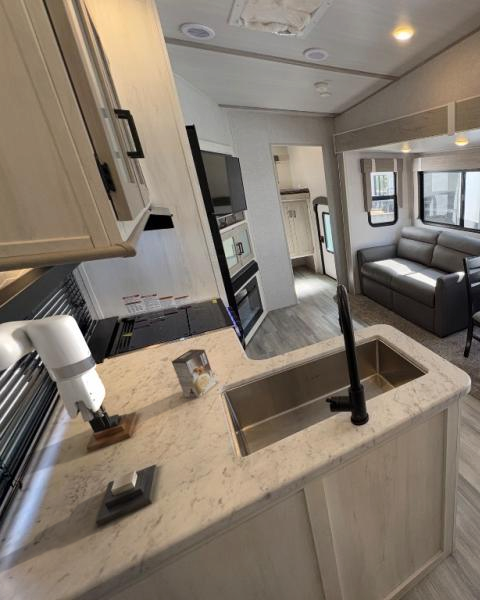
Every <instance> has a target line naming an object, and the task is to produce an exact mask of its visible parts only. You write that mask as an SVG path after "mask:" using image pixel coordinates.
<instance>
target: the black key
mask: <svg viewBox="0 0 480 600" xmlns="http://www.w3.org/2000/svg"><path fill="white" fill-rule="evenodd" d="M119 416H120V415H119V413H117V414H113V415H110V416H109V418H110V420H111V422H112V425H111V427H110V428H112V427H115V426H118V424H119V421H120V417H119Z"/></svg>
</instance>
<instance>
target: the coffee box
mask: <svg viewBox="0 0 480 600" xmlns="http://www.w3.org/2000/svg"><path fill="white" fill-rule="evenodd" d="M171 364H172V367H173V369H174V372H175V374H176V378H177V379H178V382H179V385H180V387H181V390H182V393H183V395H184V397H185V398H200V397H201V396H203V395H204V394H205V393H207V392H208V391H209V390H210V389H211V388H213V386H215V385H216V384H217V381H216V380H215V377H214V373H213V370H212V367H211V365H210V362H209V359H208V355H207V353H206V349H197V348H196V349H195V348H194V349H189V350H187V351H186V352H184V353H182V355H181V354H180V356H178V357H176V358H175V359H173V360H172V361H171Z"/></svg>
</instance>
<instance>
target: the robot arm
mask: <svg viewBox="0 0 480 600" xmlns="http://www.w3.org/2000/svg"><path fill="white" fill-rule="evenodd" d="M33 351H36V353H37V354H38V356H39V358H40V360H41V362H42V363H43V366H44V367H45V369H46V371H47V372H48V374H49V376H50V378H51V380H52V382H56V383H55V384H56V388H57V391H58V394H59V396H60V399H61V402H62V403H63V407H64V409H65V410H66V412H67V415H68V418H70V419H71V420H75V419H76V418H78V416H79V414H80V415H81V417H82V420H83V422H84V423H87V422H88V424H89V425H90V427H91V429H92V431H93V433H97V432H100V431H103V430H106V429H109V428H110V427H111V425H112V422H111V420H110V418H109V417H110V416H109V414H108V412H107V411H106V407H105V404H104V402H103V401H104V399H105V397H106V389H105V386H104V383H103V381H102V380H101V377H100V376H99V374H98V372H97V371H96V368H97V363H96V361H95V359H94V357H93V354H92V353H91V351H90V348H89V346H88V344H87V342H86V340H85V337H84V336H83V333H82V331H81V329H80V327H79V325H78V323H77V320H76V319H75V318H74V317H73V316H71V315H69V314H57V315H52V316H46V317H43V318H40V319H30V320H29V319H28V320H16V321H15V320H14V321H8V322H3V323H0V372H2V371H4V370H6V369H8V368H10V367H12V366H13V365H14V364H16V363H17V362H19V360H21V359H22V358H23V357H24V356H26V355H28V354H30V353H31V352H33Z"/></svg>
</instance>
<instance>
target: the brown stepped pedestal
mask: <svg viewBox="0 0 480 600" xmlns="http://www.w3.org/2000/svg"><path fill="white" fill-rule="evenodd" d="M119 417H120V421H119V424H118V426H115V427H112V428H109V429H106V430H103V431H100V432H97V433H94V432H92V433H93V434H92V435H91V437H90V439H89V441H88V443H87V446H86V450H87V451H88V453H91V452H92V451H95V450H98V449H101V448H104V447H107V446H110V445H112V444H117V443H118V442H122V441H124V440H127V439H130V438H131V437H132V434H133V432H134V428H135V425H136V422H137V419H138V414H137V411H134V412H131V413H124V414H122V415H119Z"/></svg>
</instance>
